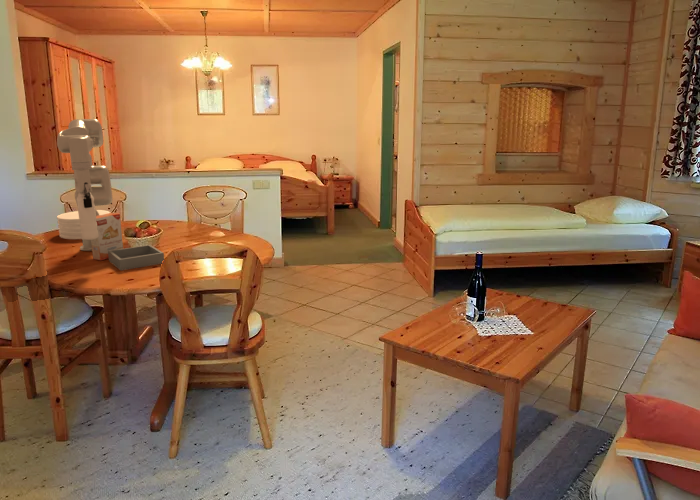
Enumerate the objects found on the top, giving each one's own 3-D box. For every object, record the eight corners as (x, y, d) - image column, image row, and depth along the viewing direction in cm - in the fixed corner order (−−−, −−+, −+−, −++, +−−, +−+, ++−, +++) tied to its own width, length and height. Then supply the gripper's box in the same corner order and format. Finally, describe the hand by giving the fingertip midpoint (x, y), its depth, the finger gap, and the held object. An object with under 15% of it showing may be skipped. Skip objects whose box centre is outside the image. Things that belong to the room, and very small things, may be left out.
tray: (109, 261, 273) (107, 250, 272) (151, 254, 285) (150, 244, 283) (120, 270, 258) (119, 259, 256) (164, 263, 269) (163, 252, 268)
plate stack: (49, 235, 328) (46, 215, 325) (94, 226, 350) (92, 208, 347) (77, 241, 313) (75, 221, 310) (122, 232, 335) (120, 212, 332)
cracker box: (101, 261, 273) (96, 218, 268) (92, 259, 276) (87, 217, 271) (124, 254, 285) (120, 213, 280) (116, 252, 288) (111, 212, 283)
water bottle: (85, 236, 261) (78, 181, 254) (100, 236, 261) (94, 181, 254) (79, 240, 254) (71, 184, 247) (95, 240, 254) (88, 184, 248)
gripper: (67, 164, 253) (72, 204, 258) (76, 168, 240) (81, 210, 245) (85, 163, 257) (90, 202, 262) (95, 167, 244) (100, 208, 249)
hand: (86, 205), depth 253 cm, fingers closed on water bottle, 7 cm apart
